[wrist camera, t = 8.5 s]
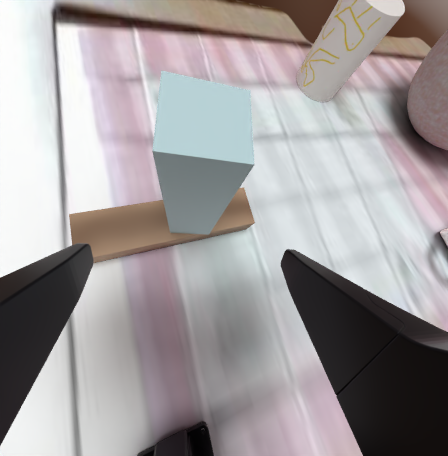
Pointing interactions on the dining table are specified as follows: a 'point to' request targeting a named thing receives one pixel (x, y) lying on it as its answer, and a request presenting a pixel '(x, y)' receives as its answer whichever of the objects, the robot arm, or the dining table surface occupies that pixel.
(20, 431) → the dining table surface
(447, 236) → the mug
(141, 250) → the beam
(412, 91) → the plant pot
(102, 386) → the dining table surface
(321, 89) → the white cylinder
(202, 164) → the post
